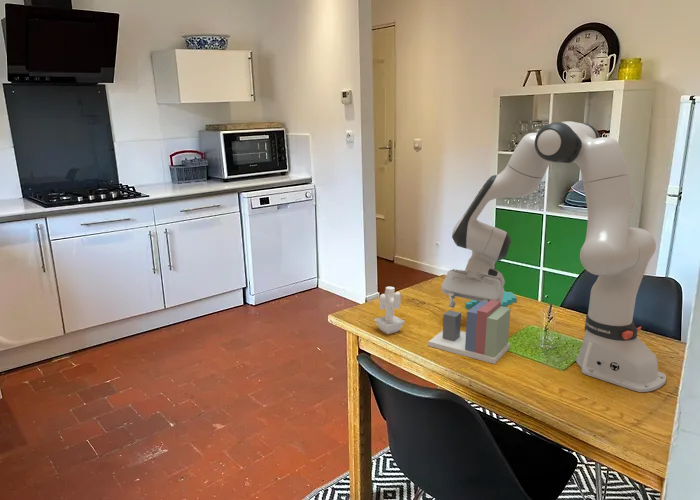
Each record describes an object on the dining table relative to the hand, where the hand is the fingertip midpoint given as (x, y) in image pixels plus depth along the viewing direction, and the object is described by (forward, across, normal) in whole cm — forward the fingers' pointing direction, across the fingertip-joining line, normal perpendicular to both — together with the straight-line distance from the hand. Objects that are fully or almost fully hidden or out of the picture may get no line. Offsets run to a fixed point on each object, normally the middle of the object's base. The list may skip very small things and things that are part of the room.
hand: (464, 309), depth 171 cm
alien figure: (-18, -4, +29) cm, 34 cm away
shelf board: (+12, +6, -2) cm, 14 cm away
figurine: (+15, -20, -4) cm, 25 cm away
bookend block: (+11, 0, -3) cm, 12 cm away
